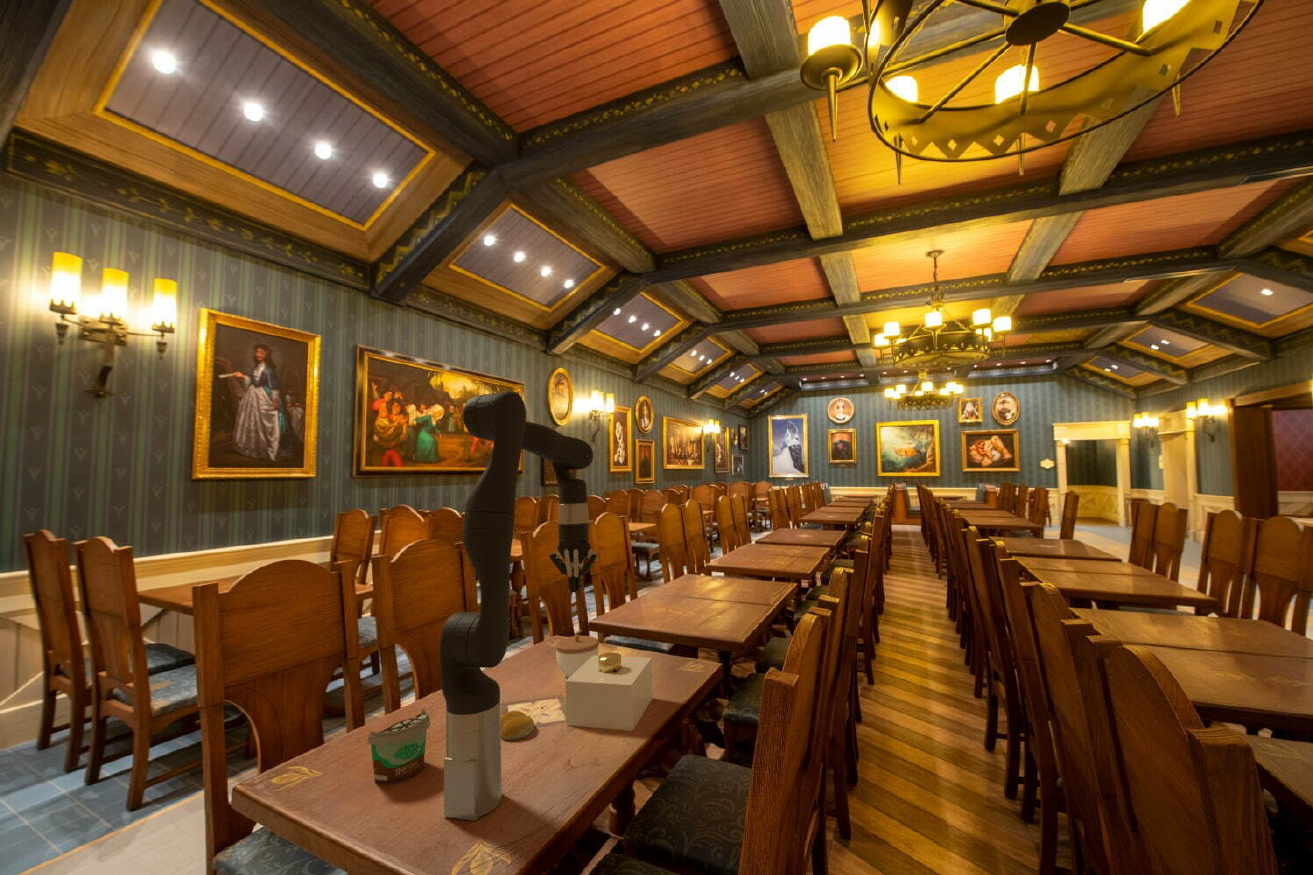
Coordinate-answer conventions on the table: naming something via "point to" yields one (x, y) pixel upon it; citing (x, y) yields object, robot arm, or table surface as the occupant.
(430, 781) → the table surface
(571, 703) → the pin block
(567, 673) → the lidded bowl
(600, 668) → the brass-head pin
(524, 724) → the bread roll
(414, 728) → the food container
